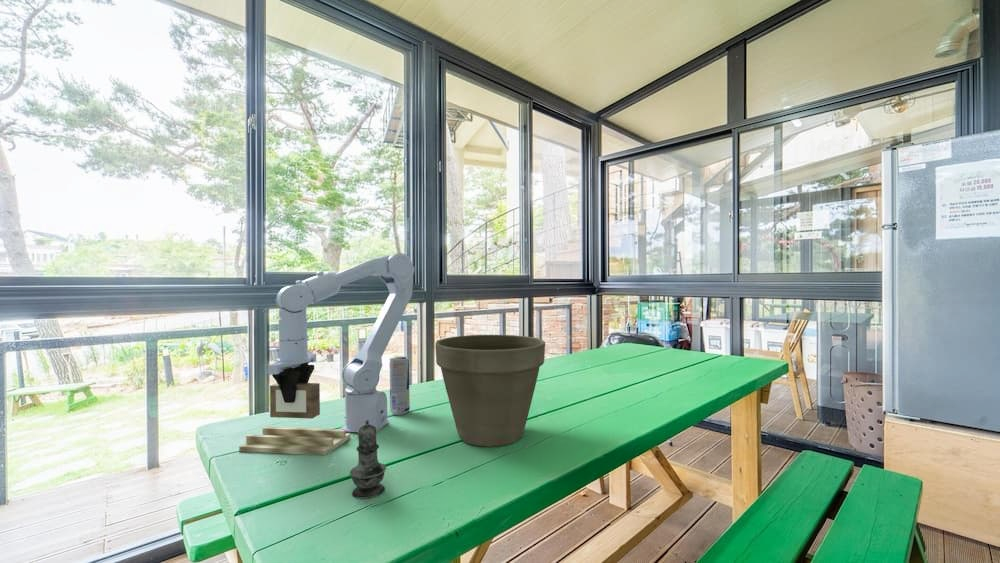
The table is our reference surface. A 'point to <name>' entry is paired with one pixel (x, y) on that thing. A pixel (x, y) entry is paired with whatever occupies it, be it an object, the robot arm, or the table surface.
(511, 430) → the plant pot
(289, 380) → the robot arm
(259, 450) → the ledge
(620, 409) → the table surface
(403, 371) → the beverage can
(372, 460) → the salt shaker
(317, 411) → the frame
